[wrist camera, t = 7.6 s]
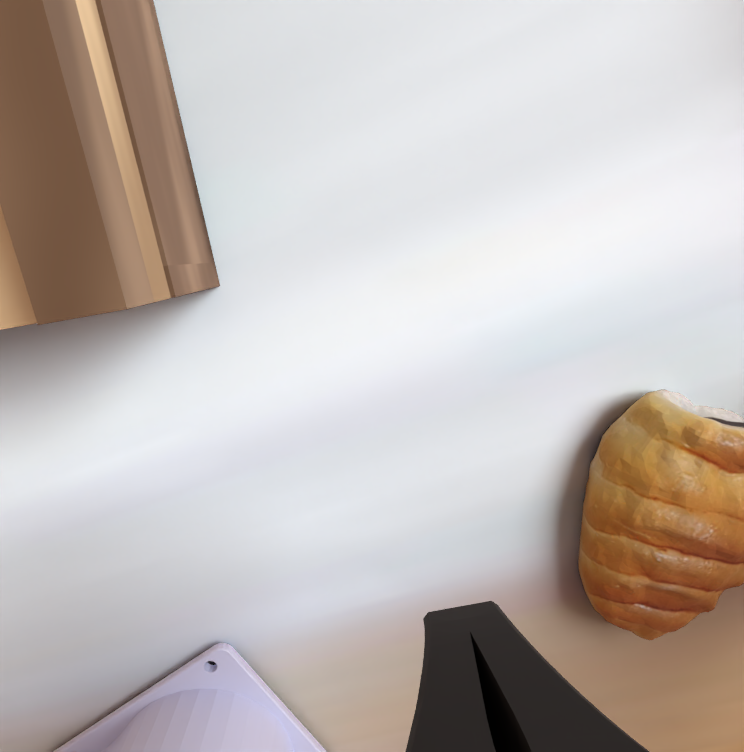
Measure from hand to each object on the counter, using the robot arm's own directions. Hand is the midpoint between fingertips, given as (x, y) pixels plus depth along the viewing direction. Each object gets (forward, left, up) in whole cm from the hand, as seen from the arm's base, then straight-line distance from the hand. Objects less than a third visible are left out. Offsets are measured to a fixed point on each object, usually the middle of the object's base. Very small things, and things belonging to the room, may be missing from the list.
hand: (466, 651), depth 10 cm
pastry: (+7, -7, -11) cm, 15 cm away
